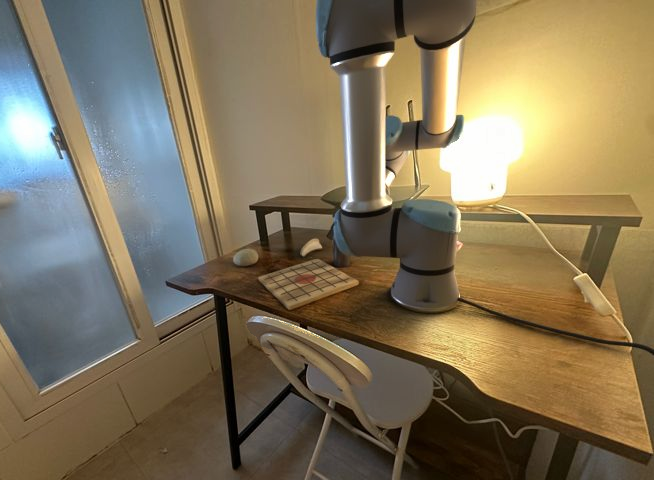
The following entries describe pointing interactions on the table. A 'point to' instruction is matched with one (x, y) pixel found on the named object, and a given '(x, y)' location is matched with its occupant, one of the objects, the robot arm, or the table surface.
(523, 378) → the table surface
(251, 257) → the sea urchin shell
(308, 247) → the ceramic fragment
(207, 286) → the table surface
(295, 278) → the game board
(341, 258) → the dark grey rounded cylinder
